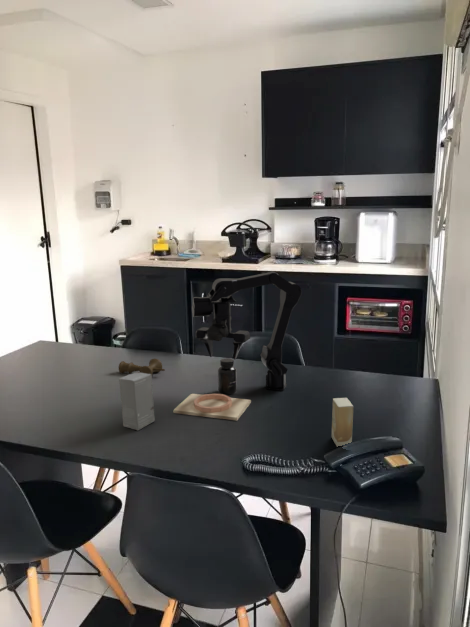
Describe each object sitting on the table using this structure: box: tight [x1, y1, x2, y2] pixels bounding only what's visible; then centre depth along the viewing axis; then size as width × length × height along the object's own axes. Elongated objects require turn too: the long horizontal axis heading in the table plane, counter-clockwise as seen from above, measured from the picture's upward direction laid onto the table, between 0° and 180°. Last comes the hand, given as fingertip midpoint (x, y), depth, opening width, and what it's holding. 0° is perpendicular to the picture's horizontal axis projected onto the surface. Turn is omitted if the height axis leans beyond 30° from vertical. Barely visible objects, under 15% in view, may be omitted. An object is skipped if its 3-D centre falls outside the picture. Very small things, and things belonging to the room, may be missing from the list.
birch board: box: [172, 393, 252, 421], centre depth 169 cm, size 22×15×1 cm
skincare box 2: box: [331, 397, 354, 448], centre depth 142 cm, size 6×4×12 cm
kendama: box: [118, 358, 166, 378], centre depth 203 cm, size 6×10×20 cm
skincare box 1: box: [118, 371, 156, 431], centre depth 156 cm, size 8×7×16 cm
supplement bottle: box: [217, 357, 238, 396], centre depth 182 cm, size 7×7×12 cm
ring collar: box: [194, 393, 232, 413], centre depth 169 cm, size 12×12×2 cm
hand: (223, 358), depth 179 cm, fingers open, 9 cm apart
